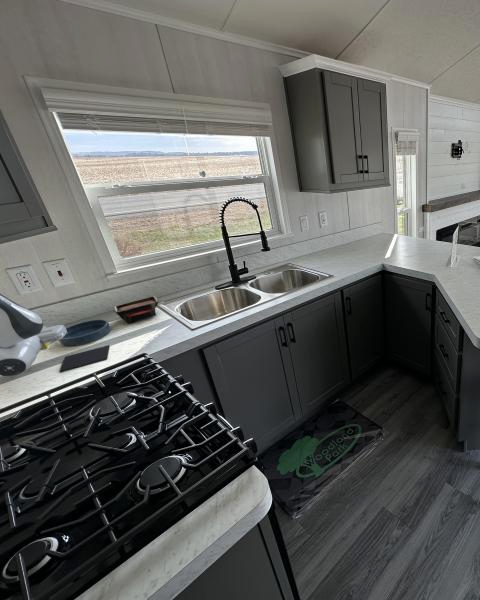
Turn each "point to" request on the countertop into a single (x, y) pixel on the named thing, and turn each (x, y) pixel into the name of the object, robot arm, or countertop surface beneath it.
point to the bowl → (85, 332)
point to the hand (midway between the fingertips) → (33, 330)
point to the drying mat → (84, 358)
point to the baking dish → (137, 309)
